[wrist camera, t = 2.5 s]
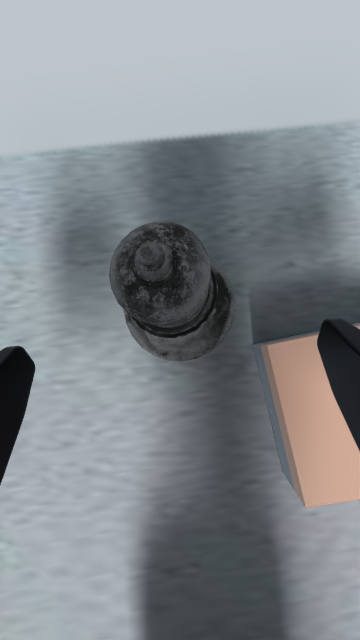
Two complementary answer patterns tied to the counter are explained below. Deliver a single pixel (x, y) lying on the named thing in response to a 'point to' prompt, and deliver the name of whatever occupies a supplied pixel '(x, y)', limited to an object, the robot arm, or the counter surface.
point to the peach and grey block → (308, 421)
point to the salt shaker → (171, 291)
